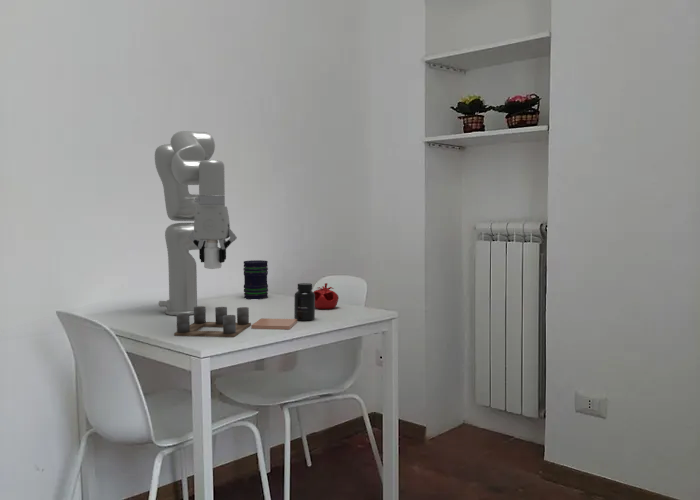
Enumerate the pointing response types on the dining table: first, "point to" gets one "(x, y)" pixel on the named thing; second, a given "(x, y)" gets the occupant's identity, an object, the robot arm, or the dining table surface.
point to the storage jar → (255, 279)
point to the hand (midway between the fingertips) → (212, 261)
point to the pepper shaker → (212, 255)
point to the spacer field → (213, 323)
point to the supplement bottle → (304, 303)
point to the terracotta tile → (274, 323)
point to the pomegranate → (325, 298)
